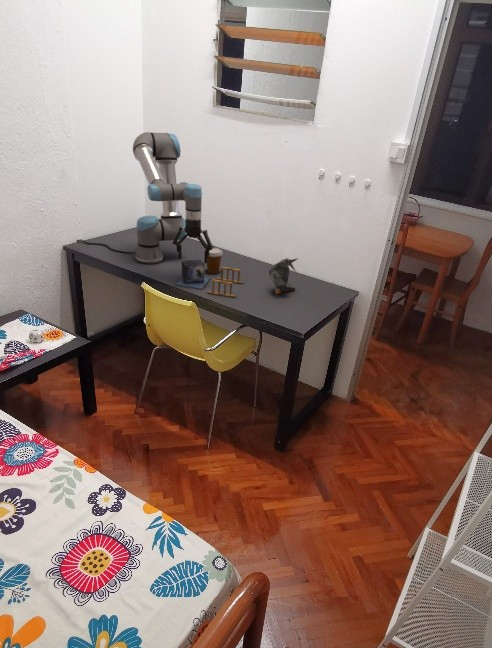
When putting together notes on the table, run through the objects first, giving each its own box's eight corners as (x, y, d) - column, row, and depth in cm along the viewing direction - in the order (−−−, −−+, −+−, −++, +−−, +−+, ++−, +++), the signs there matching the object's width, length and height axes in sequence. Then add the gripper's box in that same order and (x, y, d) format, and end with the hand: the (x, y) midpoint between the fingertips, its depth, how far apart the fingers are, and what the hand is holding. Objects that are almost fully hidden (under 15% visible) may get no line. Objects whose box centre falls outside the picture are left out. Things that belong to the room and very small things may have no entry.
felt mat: (175, 285, 233) (175, 284, 233) (184, 275, 244) (184, 274, 244) (202, 289, 232) (202, 288, 232) (209, 279, 243) (209, 278, 243)
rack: (207, 293, 229) (208, 279, 224) (217, 279, 244) (218, 265, 240) (235, 297, 227) (235, 283, 223) (243, 283, 243) (243, 269, 239)
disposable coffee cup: (218, 275, 248) (219, 254, 241) (202, 272, 249) (202, 251, 243) (223, 269, 256) (224, 249, 249) (207, 266, 257) (208, 246, 250)
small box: (185, 284, 233) (185, 265, 227) (181, 279, 238) (181, 260, 232) (204, 282, 238) (205, 263, 232) (200, 277, 242) (200, 258, 237)
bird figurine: (262, 286, 242) (265, 254, 232) (288, 284, 248) (292, 252, 238) (273, 298, 231) (276, 264, 222) (299, 295, 237) (304, 262, 227)
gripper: (165, 216, 218) (166, 258, 230) (216, 224, 216) (214, 266, 228) (171, 212, 224) (171, 253, 236) (220, 220, 222) (218, 261, 234)
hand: (192, 260), depth 232 cm, fingers open, 13 cm apart
